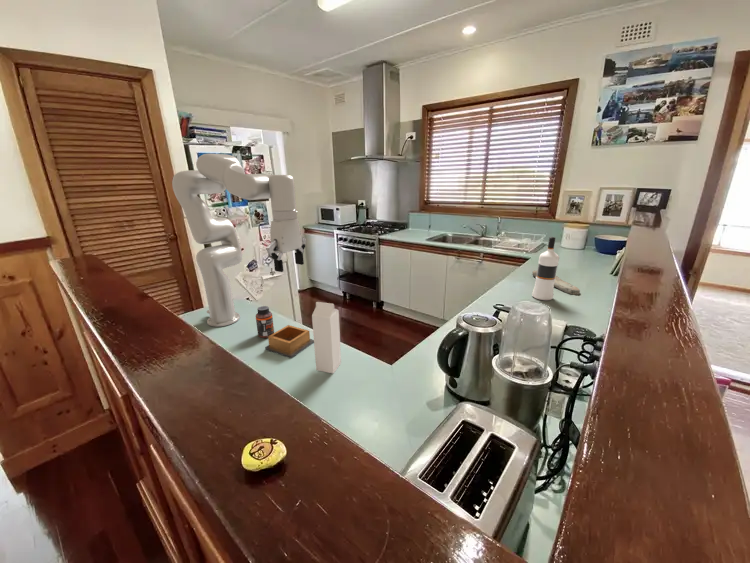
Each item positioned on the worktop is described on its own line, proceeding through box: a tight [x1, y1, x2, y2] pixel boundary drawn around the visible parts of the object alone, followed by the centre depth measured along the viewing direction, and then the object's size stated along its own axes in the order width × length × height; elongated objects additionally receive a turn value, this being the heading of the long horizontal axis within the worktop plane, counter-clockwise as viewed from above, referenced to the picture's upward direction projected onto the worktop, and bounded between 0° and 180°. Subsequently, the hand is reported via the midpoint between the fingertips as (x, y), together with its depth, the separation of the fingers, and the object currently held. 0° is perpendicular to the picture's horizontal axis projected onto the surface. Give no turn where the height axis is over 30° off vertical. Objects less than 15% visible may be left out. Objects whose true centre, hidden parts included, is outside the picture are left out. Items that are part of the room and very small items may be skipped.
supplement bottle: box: [255, 305, 275, 339], centre depth 118 cm, size 6×6×11 cm
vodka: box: [531, 236, 560, 301], centre depth 149 cm, size 9×9×30 cm
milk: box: [311, 301, 342, 374], centre depth 96 cm, size 6×6×22 cm
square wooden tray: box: [265, 324, 314, 359], centre depth 111 cm, size 12×12×5 cm
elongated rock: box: [531, 270, 581, 296], centre depth 172 cm, size 35×5×10 cm
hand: (289, 267), depth 104 cm, fingers open, 9 cm apart
